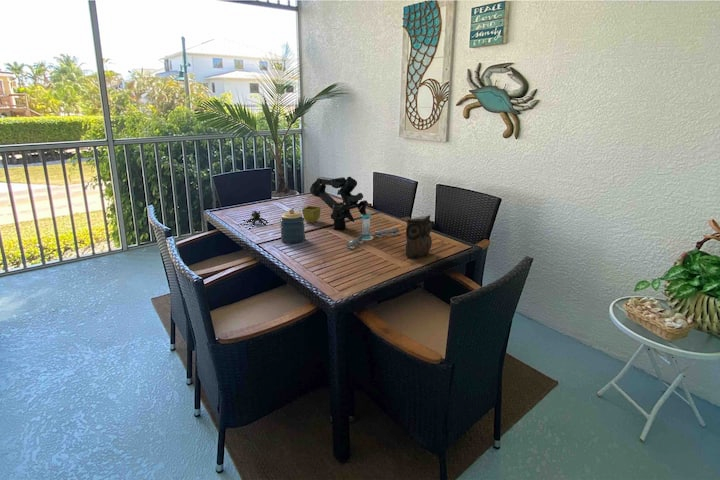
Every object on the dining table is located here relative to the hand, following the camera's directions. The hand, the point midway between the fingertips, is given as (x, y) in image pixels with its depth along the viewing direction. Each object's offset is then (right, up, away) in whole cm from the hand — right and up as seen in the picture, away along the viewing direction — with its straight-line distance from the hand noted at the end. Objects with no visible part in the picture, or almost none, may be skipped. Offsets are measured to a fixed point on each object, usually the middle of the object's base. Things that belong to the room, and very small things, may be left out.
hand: (360, 219), depth 221 cm
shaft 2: (+15, -9, +4) cm, 18 cm away
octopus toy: (-65, -2, +27) cm, 70 cm away
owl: (+28, -18, -23) cm, 40 cm away
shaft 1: (-3, -14, -11) cm, 18 cm away
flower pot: (-30, 0, +30) cm, 42 cm away
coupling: (+3, -10, 0) cm, 10 cm away
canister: (-36, -11, -3) cm, 38 cm away
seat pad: (+3, -10, 0) cm, 11 cm away
